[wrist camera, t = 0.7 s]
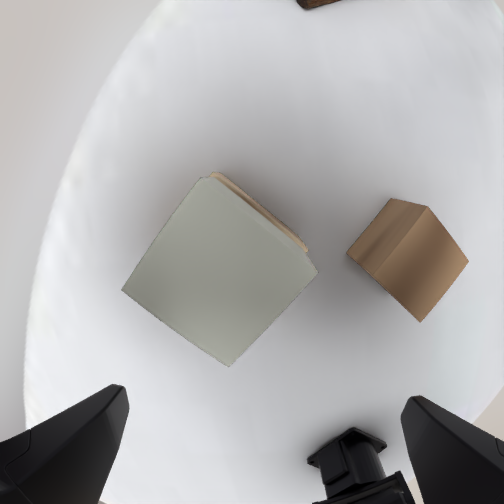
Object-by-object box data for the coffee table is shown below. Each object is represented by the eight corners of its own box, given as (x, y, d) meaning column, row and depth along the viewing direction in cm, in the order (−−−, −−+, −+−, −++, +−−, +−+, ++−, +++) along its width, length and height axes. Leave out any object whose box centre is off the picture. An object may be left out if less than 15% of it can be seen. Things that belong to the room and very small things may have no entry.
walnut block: (430, 243, 20) (468, 261, 15) (389, 293, 21) (420, 322, 16) (390, 198, 19) (427, 206, 14) (345, 252, 20) (372, 275, 15)
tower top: (303, 248, 16) (318, 272, 12) (233, 327, 17) (228, 367, 13) (213, 176, 15) (200, 177, 11) (149, 264, 16) (121, 290, 12)
